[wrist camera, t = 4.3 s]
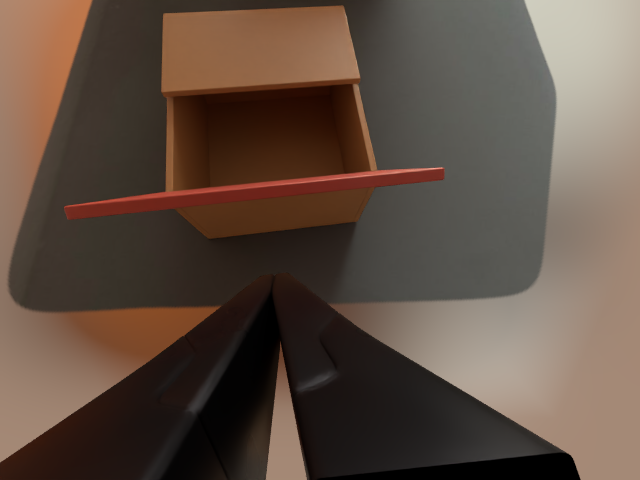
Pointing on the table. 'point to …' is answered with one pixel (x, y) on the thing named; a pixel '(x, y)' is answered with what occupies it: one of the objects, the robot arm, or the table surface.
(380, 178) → the flap
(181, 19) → the carton
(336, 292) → the table surface
